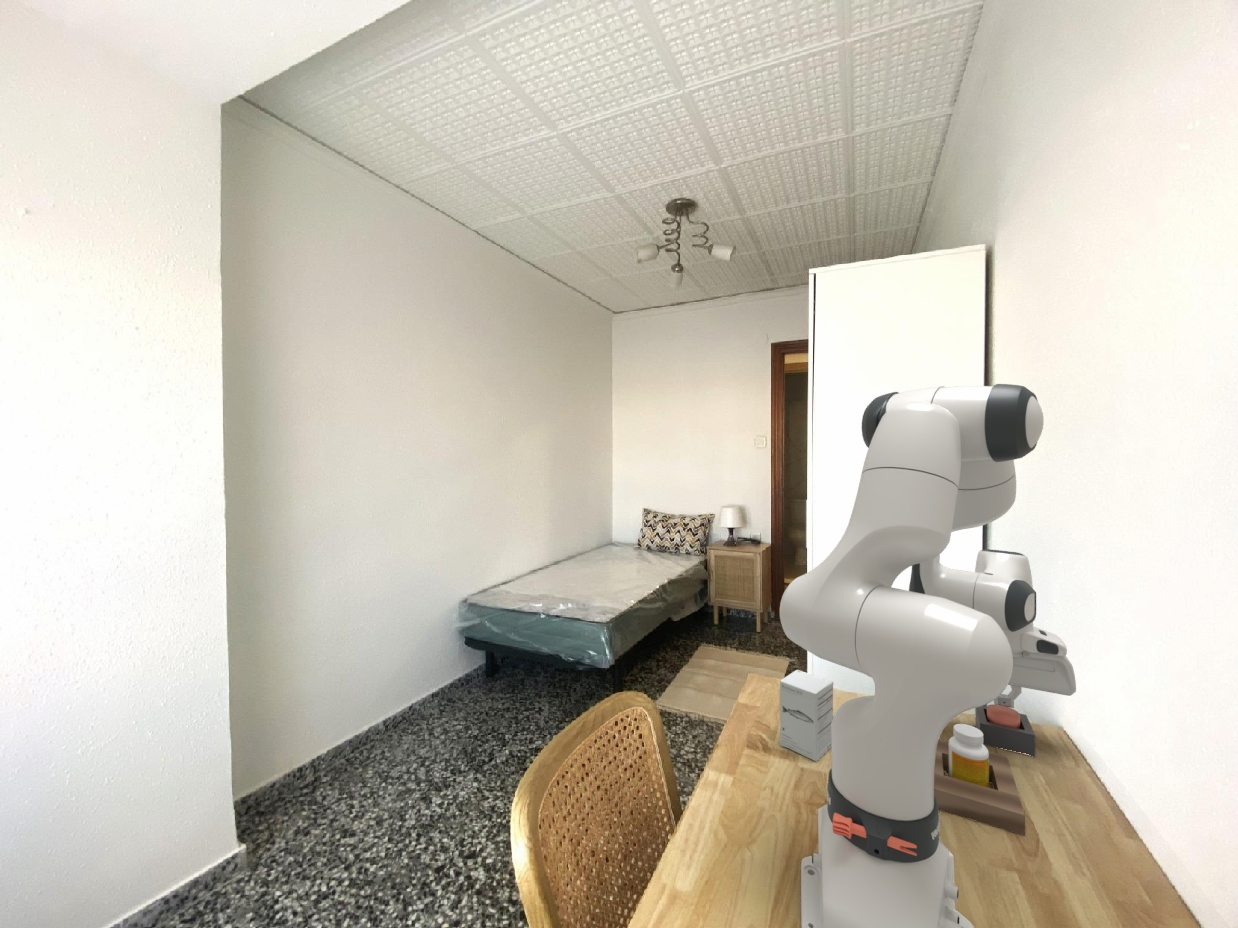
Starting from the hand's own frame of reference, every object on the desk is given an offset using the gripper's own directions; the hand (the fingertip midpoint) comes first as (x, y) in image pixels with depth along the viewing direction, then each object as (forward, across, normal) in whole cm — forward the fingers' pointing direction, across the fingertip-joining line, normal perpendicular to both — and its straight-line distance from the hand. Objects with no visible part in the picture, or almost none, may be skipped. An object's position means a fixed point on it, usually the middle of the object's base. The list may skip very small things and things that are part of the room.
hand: (1003, 705), depth 92 cm
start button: (+4, 0, 0) cm, 4 cm away
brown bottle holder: (+6, -7, -20) cm, 22 cm away
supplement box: (+7, -32, -21) cm, 39 cm away
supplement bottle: (+7, -7, -20) cm, 22 cm away
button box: (+7, 0, 0) cm, 7 cm away
